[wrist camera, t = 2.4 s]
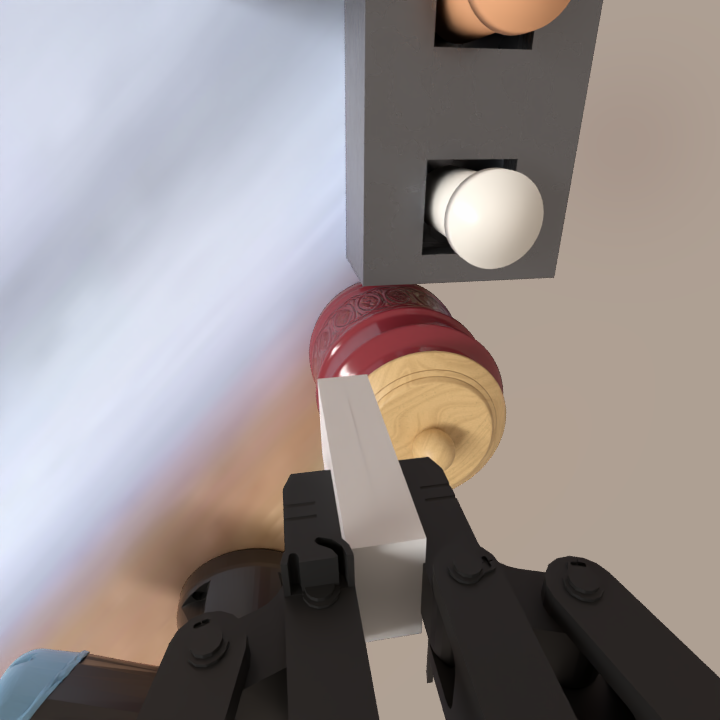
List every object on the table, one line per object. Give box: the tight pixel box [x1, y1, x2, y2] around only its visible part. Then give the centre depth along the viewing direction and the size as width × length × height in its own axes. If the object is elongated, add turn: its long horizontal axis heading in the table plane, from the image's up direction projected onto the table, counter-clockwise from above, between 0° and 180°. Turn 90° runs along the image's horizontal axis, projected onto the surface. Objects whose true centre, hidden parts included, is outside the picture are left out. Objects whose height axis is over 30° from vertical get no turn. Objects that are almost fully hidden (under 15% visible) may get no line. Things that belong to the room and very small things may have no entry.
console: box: [345, 0, 603, 286], centre depth 34 cm, size 22×14×8 cm, turn 0°
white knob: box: [424, 165, 544, 269], centre depth 33 cm, size 6×6×9 cm
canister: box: [309, 282, 506, 489], centre depth 38 cm, size 13×13×18 cm
